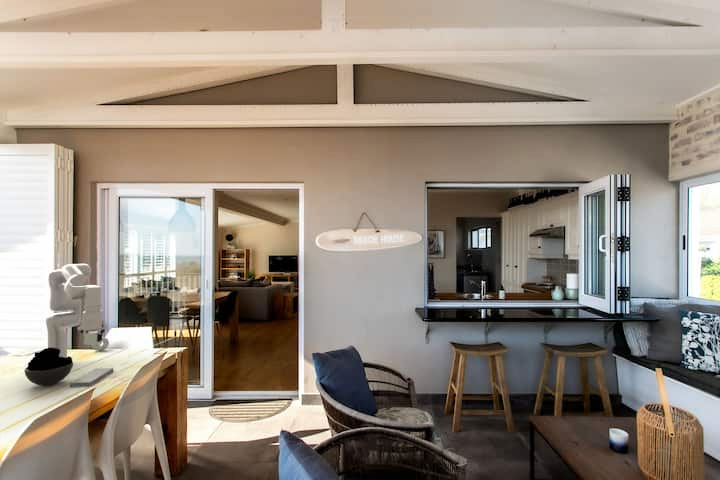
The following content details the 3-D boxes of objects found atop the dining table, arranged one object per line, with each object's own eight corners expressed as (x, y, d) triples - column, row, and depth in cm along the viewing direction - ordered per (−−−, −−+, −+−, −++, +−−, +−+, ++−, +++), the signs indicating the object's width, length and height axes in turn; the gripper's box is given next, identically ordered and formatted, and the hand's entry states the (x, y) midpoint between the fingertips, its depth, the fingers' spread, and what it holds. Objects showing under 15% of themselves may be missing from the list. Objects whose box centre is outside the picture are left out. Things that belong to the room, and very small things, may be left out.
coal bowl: (67, 375, 217) (67, 342, 218) (78, 383, 205) (78, 347, 205) (20, 385, 202) (20, 349, 202) (29, 394, 189) (29, 356, 190)
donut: (109, 349, 274) (109, 335, 275) (108, 350, 271) (108, 336, 271) (92, 351, 270) (92, 336, 270) (91, 352, 267) (91, 337, 267)
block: (83, 344, 209) (84, 333, 209) (90, 342, 215) (90, 331, 215) (95, 344, 210) (95, 333, 210) (101, 341, 216) (101, 331, 216)
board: (69, 387, 199) (69, 383, 199) (94, 372, 223) (94, 368, 223) (90, 385, 201) (90, 382, 201) (113, 371, 224) (113, 367, 224)
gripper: (71, 310, 208) (71, 343, 207) (106, 309, 210) (106, 342, 210) (80, 308, 215) (79, 340, 215) (113, 307, 218) (113, 339, 217)
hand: (93, 341), depth 212 cm, fingers closed on block, 6 cm apart
